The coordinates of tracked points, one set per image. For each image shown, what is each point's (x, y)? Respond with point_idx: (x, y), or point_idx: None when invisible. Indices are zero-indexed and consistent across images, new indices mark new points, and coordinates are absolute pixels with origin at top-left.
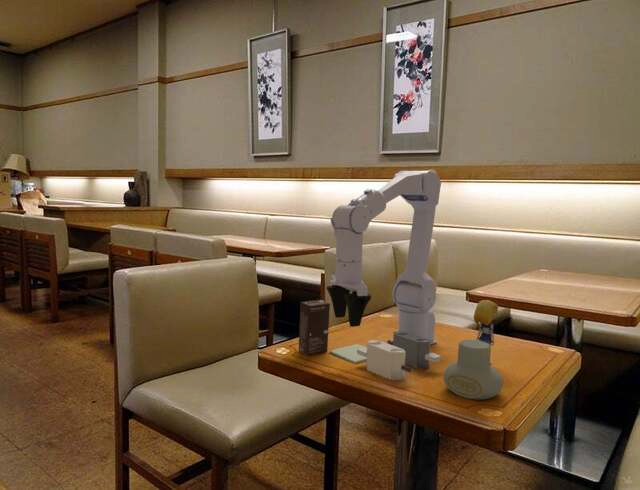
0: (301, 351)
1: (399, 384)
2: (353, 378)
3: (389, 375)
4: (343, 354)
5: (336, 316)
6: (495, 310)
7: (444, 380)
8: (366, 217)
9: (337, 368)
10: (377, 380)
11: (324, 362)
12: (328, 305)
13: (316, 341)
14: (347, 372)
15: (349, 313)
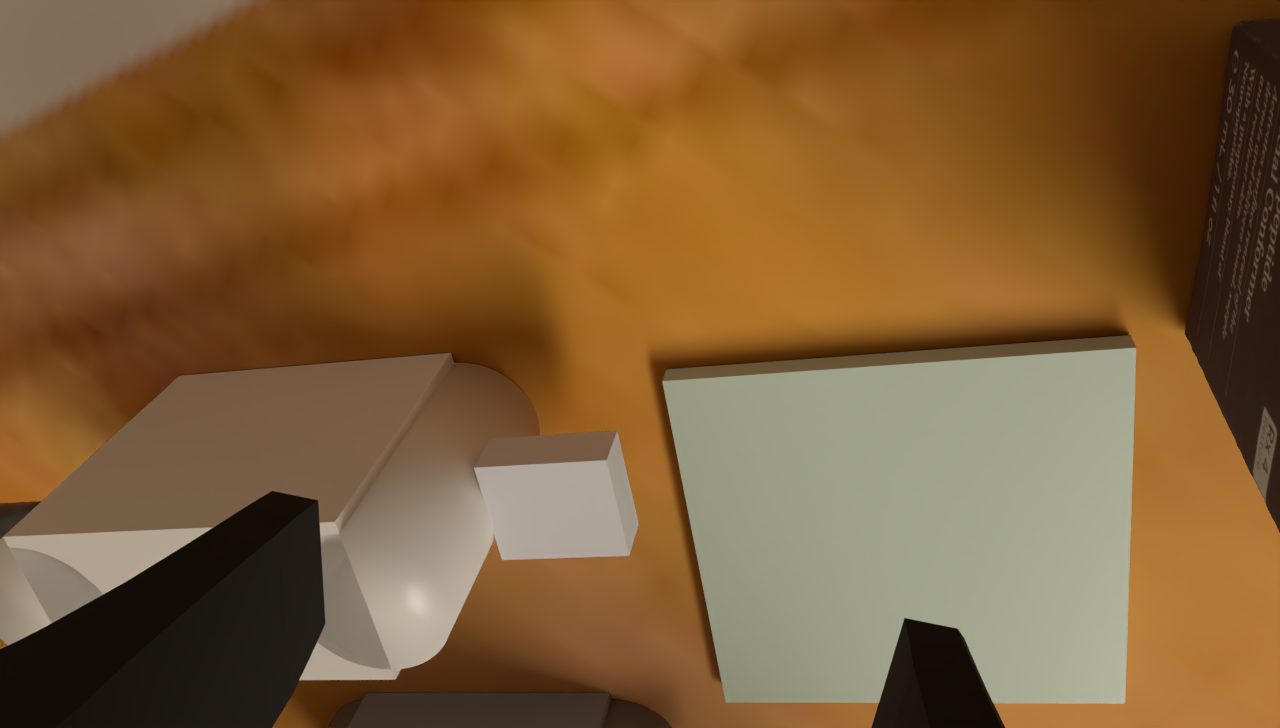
0: None
1: (101, 389)
2: (318, 122)
3: (166, 397)
4: (922, 405)
5: (903, 632)
6: None
7: None
8: None
9: (630, 130)
10: (217, 291)
11: (874, 98)
12: None
13: (1254, 230)
14: (484, 161)
15: (105, 620)
